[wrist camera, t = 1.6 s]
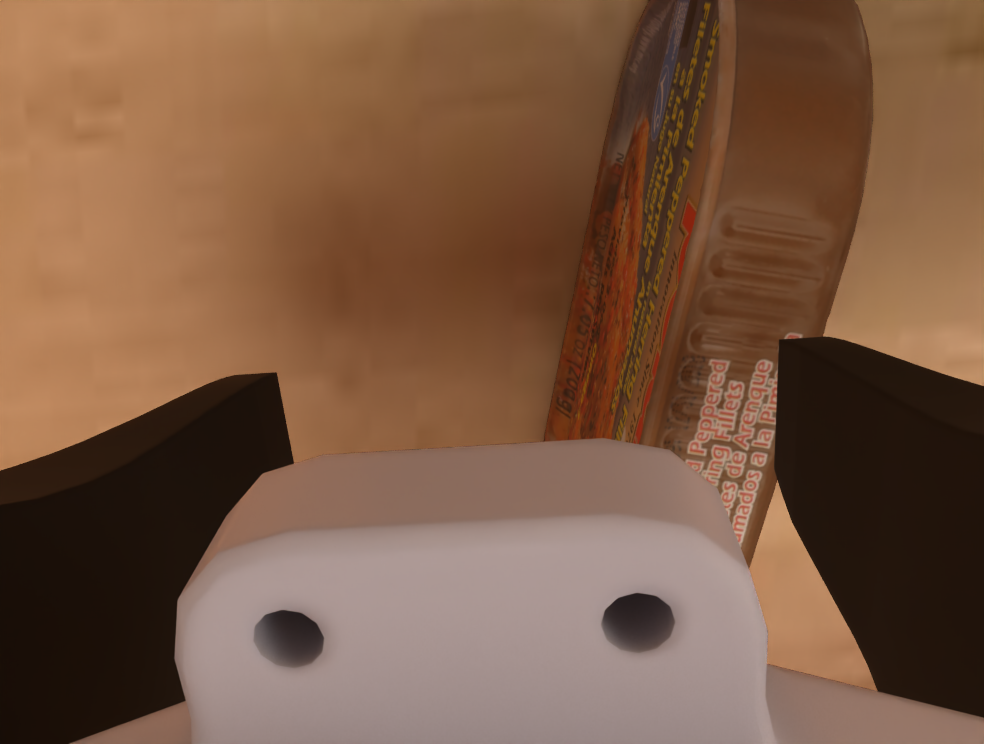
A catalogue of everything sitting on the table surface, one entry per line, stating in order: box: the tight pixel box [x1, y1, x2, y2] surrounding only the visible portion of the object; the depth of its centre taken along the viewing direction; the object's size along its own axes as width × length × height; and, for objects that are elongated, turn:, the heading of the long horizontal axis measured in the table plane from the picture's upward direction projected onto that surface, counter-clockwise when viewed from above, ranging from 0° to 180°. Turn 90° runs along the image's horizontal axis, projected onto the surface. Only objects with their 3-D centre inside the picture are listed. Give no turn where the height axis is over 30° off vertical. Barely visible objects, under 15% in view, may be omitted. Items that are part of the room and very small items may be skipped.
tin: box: [544, 0, 873, 568], centre depth 18 cm, size 15×3×8 cm, turn 171°
